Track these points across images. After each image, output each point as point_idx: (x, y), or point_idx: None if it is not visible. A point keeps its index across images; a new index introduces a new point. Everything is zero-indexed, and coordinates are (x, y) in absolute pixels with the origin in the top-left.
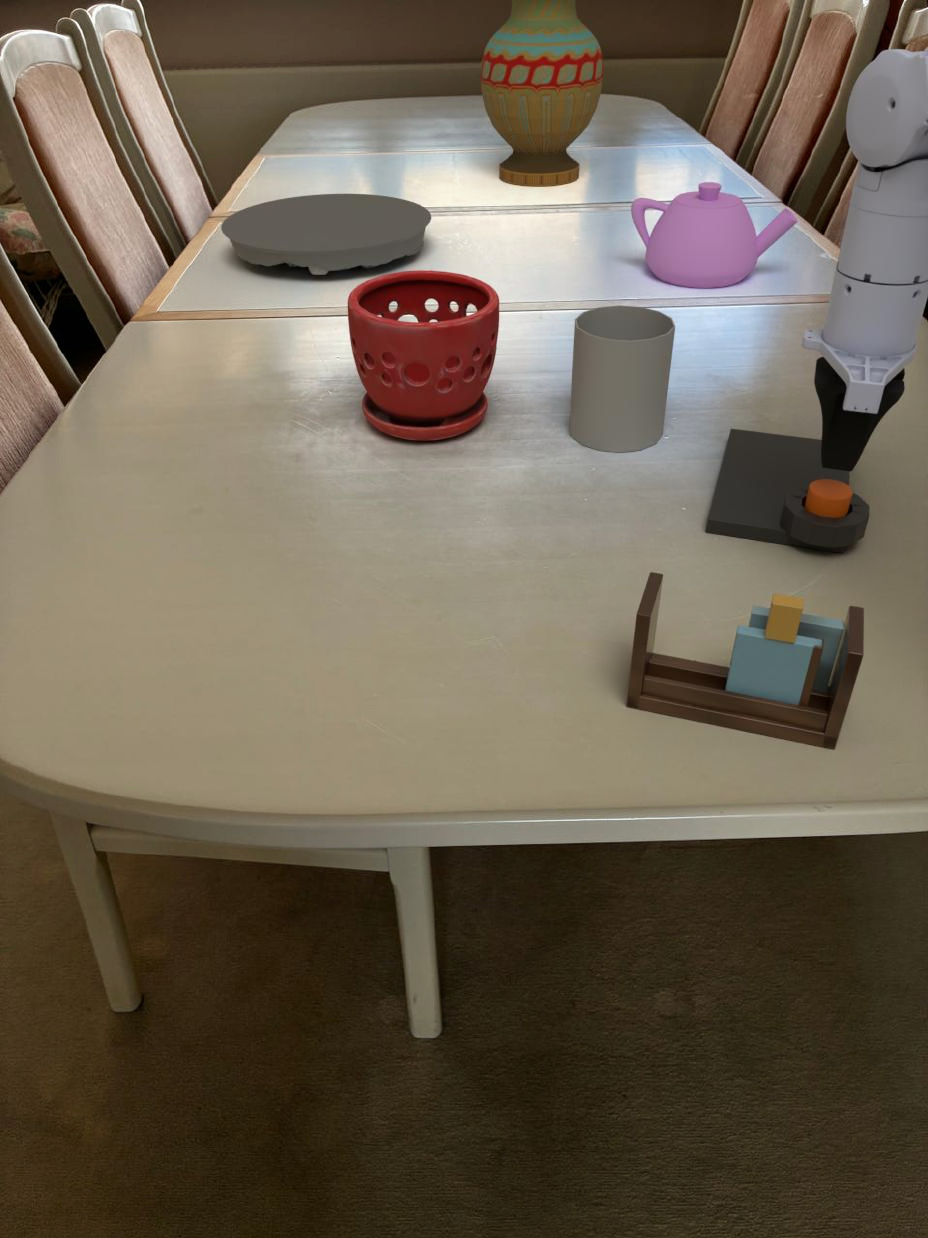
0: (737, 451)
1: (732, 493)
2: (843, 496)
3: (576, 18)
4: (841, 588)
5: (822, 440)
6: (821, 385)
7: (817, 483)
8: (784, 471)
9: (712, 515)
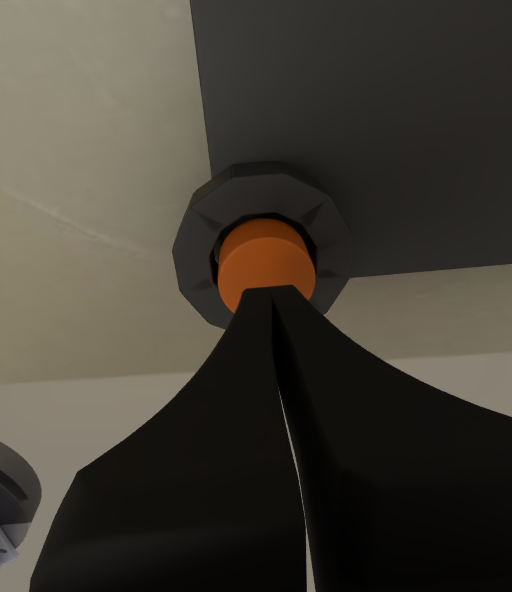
0: None
1: (345, 15)
2: None
3: None
4: (118, 283)
5: (231, 324)
6: (47, 540)
7: (283, 253)
8: (485, 134)
9: None
